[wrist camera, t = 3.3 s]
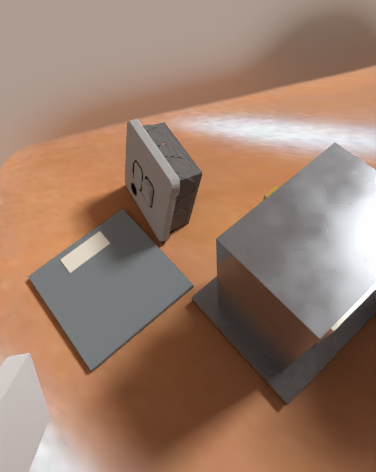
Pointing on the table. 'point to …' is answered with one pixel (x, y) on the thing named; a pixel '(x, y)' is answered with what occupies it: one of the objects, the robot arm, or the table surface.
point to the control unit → (298, 272)
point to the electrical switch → (160, 177)
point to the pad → (109, 287)
